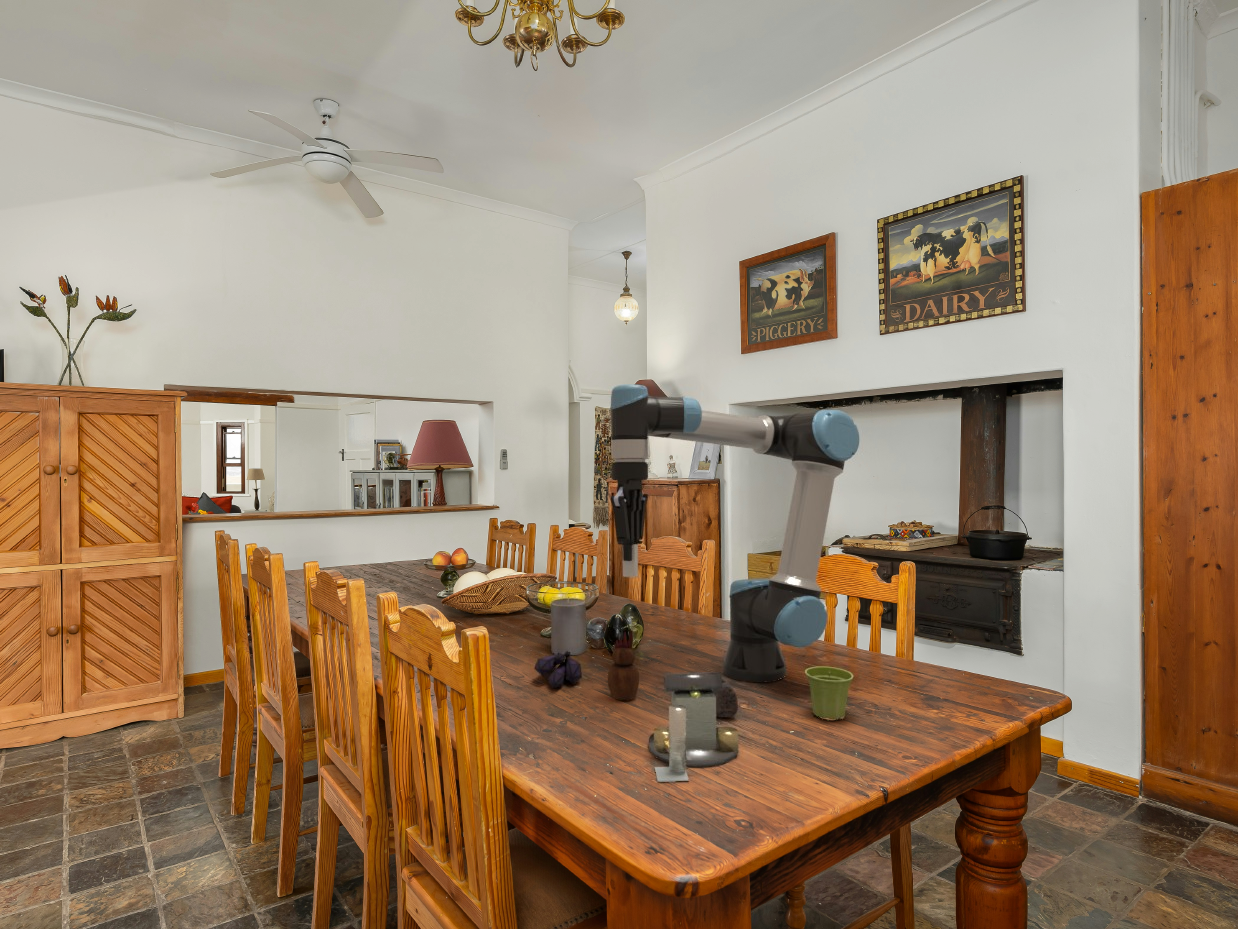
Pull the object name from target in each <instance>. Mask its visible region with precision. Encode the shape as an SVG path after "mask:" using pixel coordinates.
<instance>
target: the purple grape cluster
mask: <svg viewBox="0 0 1238 929" xmlns="http://www.w3.org/2000/svg"><path fill="white" fill-rule="evenodd" d="M570 653H571V652H568V651H566V652H565V653H564V654H561V653H559V652H558V653H557V655H556V654H551V655H547V656H543V657H540V658H537V659H536V662H535V666H534V667H533V669H534V670H535V671H536V672H537V673H539V675H541V676H542V677H545V676H547V675H548V674H550V673H551V672H552V673H551V674H550V675H549V676H548V677H547V681H548V683H549V684H550V686H551V688H552V689H556V688H559V687H561V686H562V687H563V685H564V680H565V679H566V681H569V683H571V684H572V685H573V684H574V685H575V684H576V683H578V681H579V680H580V679H582V677H583V674H582V667H581V666H582V665H581V663H580V662H578V661H576V660H575V659H573V658H571V655H570Z"/></svg>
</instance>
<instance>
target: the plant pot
mask: <svg viewBox="0 0 1238 929" xmlns="http://www.w3.org/2000/svg"><path fill="white" fill-rule="evenodd" d="M804 675H806V677H807V681H808V684H809V692H810V699H811V706H812V707H811V708H812V713H814V714H815V715H816V716H815V717H818V716H819V717H822V718H829V719H837V718H841V717H843V716H846V711H847V710H846V709H847V702H848V701H847V700H848V696H849V690H850V686H851V682H852V681H853V679H854V674H853V673H852V672H851V671H848V670H845V669H843V668H839V667H834V666H833V667H832V666H812V667H808V668H806V669H805V670H804ZM814 714H813V715H814ZM819 717H818V718H819ZM837 720H838V719H837Z"/></svg>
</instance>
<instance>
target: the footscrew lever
mask: <svg viewBox="0 0 1238 929" xmlns="http://www.w3.org/2000/svg"><path fill="white" fill-rule="evenodd" d="M653 733H654V749H655V750H657V751H660V752H669V763H668V767H669V769H670V770H671V771H674V772H683V771H685V770H686V771H687V767H686V707H685V706H683V705H671V704H670V705H669V706H668V726H658V727H656V728H654V729H653Z"/></svg>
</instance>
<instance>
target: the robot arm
mask: <svg viewBox="0 0 1238 929" xmlns="http://www.w3.org/2000/svg"><path fill="white" fill-rule="evenodd" d="M610 428H611V429H610V430H611V432H610V434H611V443H610V444H611V445H610V446H609V447H610V450H611V459H612V460H614V462H611V466H610V468H611V470H610V471H611V474H610V475H611V476H610V477H611V479H612V480H613V481H617V486H616V494H615V495H611V496H610V497H609V498H610V503H611V505H612V511H613V521H614V526H615V527H614V528H615V535H616V537H615V538H616V542H617V544H618V545H621V546H622V577H625V578H637V577H638V576H639V548H638V547H639V546H638V545H642V544H643V543H644V542H643V538H644V533H645V531H644V530H645V519H646V510H647V502H648V499H649V495H648V493H644V492H643V484H642V481H647V480H648V479H649V463H648V462H647V461H646V460H647V459H649V437H656V438H666V439H672V440H673V439H674V440H680V441H681V440H682V441H690V442H697V443H704V444H705V443H706V444H712V445H720V446H721V445H722V446H729V447H736V448H742V449H743V448H745V449H752V451H753V452H754V453H755V454H758V455H766V456H770V457H776V458H781V459H785V460H789V461H791V466H793V468H794V470H795V472H796V475H795V481H794V486H793V490H792V491H793V492H792V496H791V501H790V506H789V511H788V517H787V522H786V528H785V532H784V539H783V543H782V549H781V552H780V553H781V554H780V558H779V559H780V560H779V565H778V570H777V573H776V574H775V575H773V576H772V577H770V578H747V579H746V578H745V579H737V580H734V581H732V583H731V584H730V589H729V610H730V612H729V617H730V618H729V620H730V621H729V622H730V623H729V624H730V625H729V626H730V630H729V631H730V633H729V634H730V636H729V638H730V640H729V644H728V647H727V650H726V652H725V656H724V659H723V664H722V667H723V671H722V672H723V674H724V675H725V676H727V677H728V676H729V678H731V679H733V678H734V679H735V680H737V681H742V682H748V681H749V683H766V682H765V681H772V682H775V681H774V680H778V679H780V678H783V677H784V676H787V664H786V661H785V659H784V658H785V657H784V655H783V652H782V650H781V647H780V644H782V645H785V646H790V647H794V648H806V647H809V646H811V645H813V643H815V642H816V641H818V640H820V638H821V637H822V635H823V634H824V632H825V630H826V627H827V624H828V611H827V609H826V606H825V605H824V603H823V602H822V601H821V600H820V599H821V594H822V589H821V587H820V586H819V583H818V582H817V577H818V571H819V567H820V561H821V555H822V550H823V544H824V539H825V533H826V528H827V522H828V517H829V511H830V506H831V501H832V495H833V489H834V484H835V479H836V478H837V477H838V476H840V475H841V474H842V473H844V467H845V462H846V461H848V460H850V459H851V458H852V457H853V456H854V455H856V453H857V452H858V449H859V447H860V446H859V445H860V433H859V428H858V426H857V424H855V423H854V420H853V418H852V417H851V416H850V414H848V413H846V412H844V411H842V410H838V409H821V410H816V411H808V412H807V411H806V412H802V413H801V412H799V413H792V414H791V413H790V414H785V415H765V414H763V415H759V416H758V417H749V416H745V415H736V414H729V413H724V412H717V411H716V412H715V411H711V410H710V411H709V410H703V409H702V406H701V404H700V402H699V401H698V400H697V399H696V398H693V397H685V396H682V397H681V396H652V395H649V393H648V388H647V387H646V386H645V385H641V384H621V385H616V386H614V387H613V388H612V389H611V395H610ZM783 679H784V678H783ZM778 681H779V680H778Z"/></svg>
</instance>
